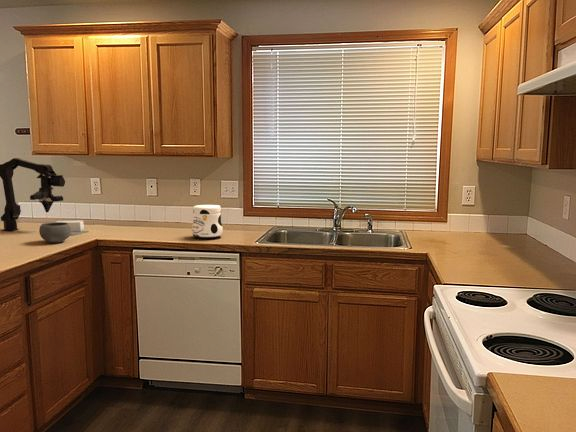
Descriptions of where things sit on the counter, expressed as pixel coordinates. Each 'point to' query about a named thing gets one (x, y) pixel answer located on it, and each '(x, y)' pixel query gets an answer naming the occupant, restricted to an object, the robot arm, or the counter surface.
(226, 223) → the counter surface
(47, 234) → the bowl
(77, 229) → the skincare box
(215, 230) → the milk container
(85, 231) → the mat
